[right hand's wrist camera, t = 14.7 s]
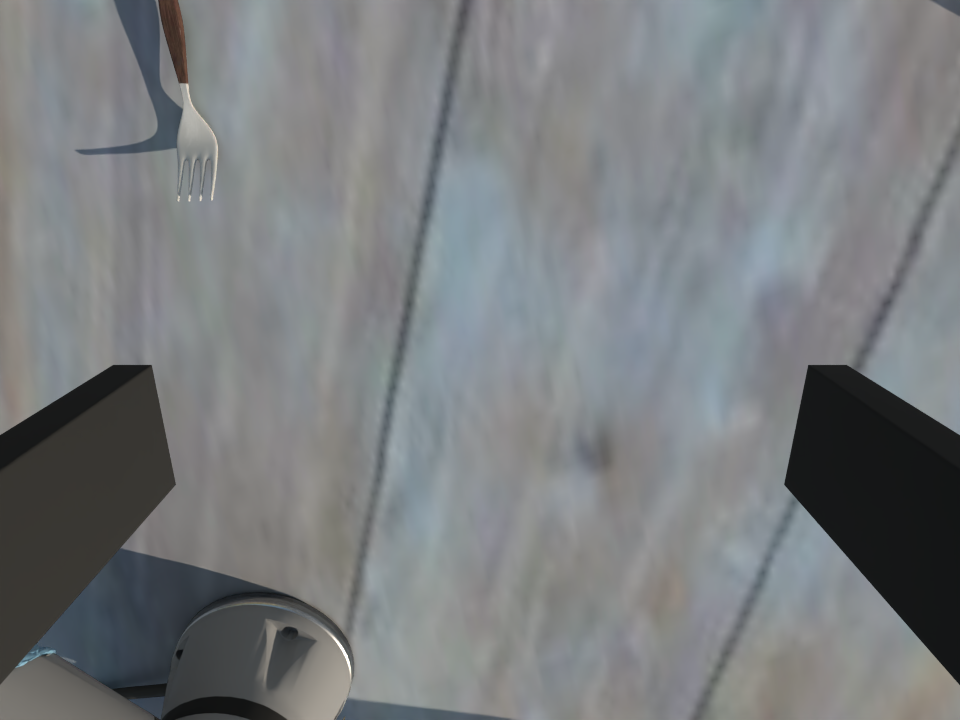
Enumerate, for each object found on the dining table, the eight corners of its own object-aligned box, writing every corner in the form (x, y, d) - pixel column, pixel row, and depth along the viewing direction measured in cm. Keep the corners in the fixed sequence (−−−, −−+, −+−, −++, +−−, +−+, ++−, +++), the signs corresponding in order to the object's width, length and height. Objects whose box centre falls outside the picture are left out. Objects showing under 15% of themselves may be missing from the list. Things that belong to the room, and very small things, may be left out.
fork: (178, -93, 34) (160, -106, 32) (227, 197, 40) (214, 200, 38) (132, -91, 34) (112, -105, 32) (188, 198, 40) (173, 202, 38)
